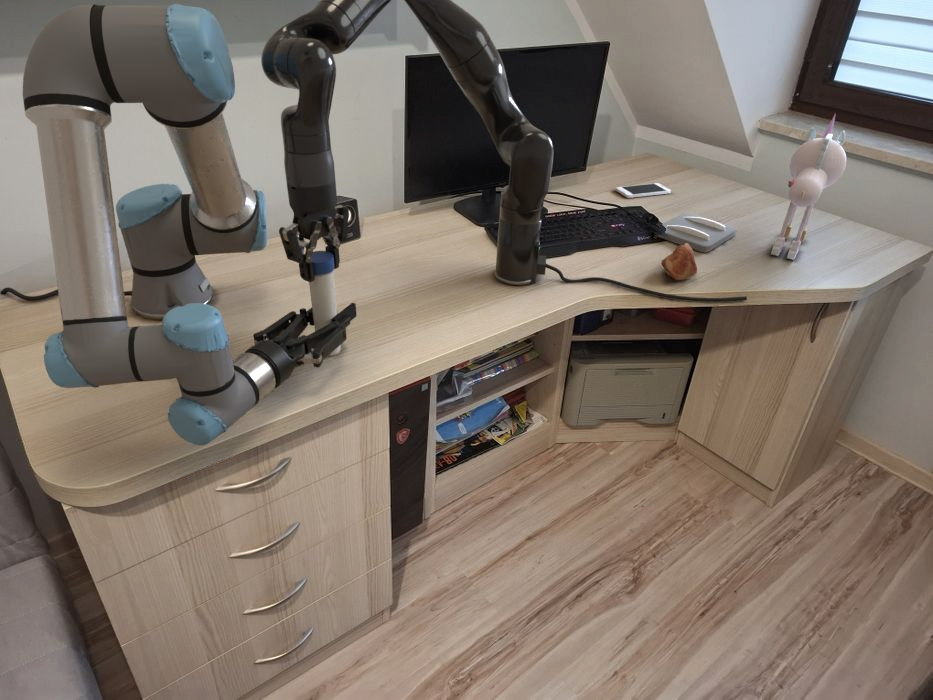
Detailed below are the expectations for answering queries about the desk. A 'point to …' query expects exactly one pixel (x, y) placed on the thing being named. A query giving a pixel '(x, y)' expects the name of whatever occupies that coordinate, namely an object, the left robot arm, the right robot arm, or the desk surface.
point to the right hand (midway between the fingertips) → (320, 273)
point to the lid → (322, 262)
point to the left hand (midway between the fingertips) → (342, 306)
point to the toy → (811, 180)
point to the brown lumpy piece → (680, 263)
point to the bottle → (323, 301)
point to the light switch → (697, 232)
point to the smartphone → (642, 190)
